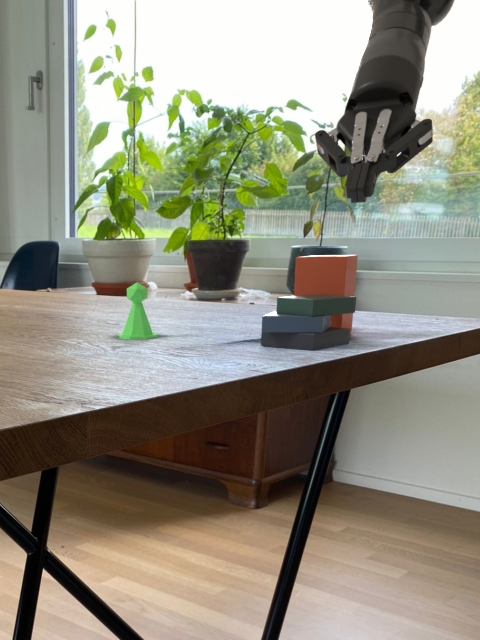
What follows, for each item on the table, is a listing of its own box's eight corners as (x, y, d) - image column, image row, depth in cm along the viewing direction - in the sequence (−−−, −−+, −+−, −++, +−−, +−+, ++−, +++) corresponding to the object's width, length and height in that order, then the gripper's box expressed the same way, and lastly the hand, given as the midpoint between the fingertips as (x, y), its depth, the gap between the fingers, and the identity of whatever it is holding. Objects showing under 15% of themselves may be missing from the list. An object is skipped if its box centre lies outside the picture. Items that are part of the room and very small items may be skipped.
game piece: (165, 342, 86) (165, 281, 84) (126, 345, 85) (126, 283, 82) (148, 338, 90) (148, 280, 88) (111, 341, 88) (110, 282, 86)
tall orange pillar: (304, 333, 90) (309, 255, 87) (351, 334, 88) (358, 254, 85) (291, 338, 86) (295, 257, 83) (340, 340, 83) (346, 256, 81)
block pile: (291, 338, 86) (293, 293, 84) (360, 343, 80) (364, 295, 79) (241, 346, 81) (243, 298, 79) (311, 353, 75) (314, 301, 74)
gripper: (323, 62, 94) (290, 173, 88) (448, 43, 88) (422, 162, 82) (331, 118, 101) (301, 226, 95) (449, 105, 94) (424, 219, 88)
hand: (357, 196), depth 88 cm, fingers closed
